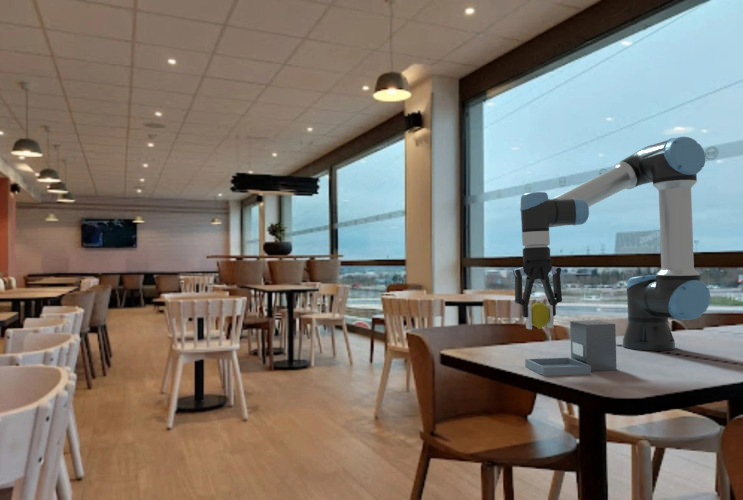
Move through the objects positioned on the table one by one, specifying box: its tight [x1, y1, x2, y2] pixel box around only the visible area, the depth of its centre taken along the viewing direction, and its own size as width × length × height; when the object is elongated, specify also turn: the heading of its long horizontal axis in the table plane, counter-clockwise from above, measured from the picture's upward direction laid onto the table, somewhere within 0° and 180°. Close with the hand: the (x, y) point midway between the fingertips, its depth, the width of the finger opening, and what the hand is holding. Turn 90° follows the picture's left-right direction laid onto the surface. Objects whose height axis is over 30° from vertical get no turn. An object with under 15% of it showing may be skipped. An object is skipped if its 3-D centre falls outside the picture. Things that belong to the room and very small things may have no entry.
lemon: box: [530, 300, 549, 330], centre depth 157 cm, size 6×6×8 cm
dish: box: [524, 357, 592, 377], centre depth 144 cm, size 12×12×2 cm
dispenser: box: [569, 319, 617, 372], centre depth 147 cm, size 9×9×12 cm
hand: (539, 328), depth 156 cm, fingers closed on lemon, 5 cm apart
